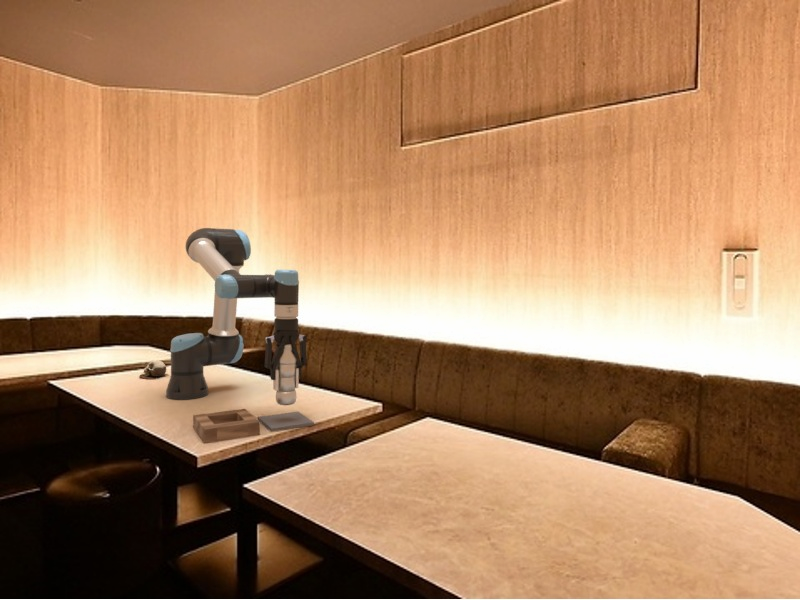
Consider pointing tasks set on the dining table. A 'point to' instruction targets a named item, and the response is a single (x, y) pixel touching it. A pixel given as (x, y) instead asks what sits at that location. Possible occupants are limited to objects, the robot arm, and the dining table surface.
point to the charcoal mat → (285, 421)
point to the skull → (154, 370)
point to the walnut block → (225, 425)
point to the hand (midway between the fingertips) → (285, 388)
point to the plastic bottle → (286, 377)
